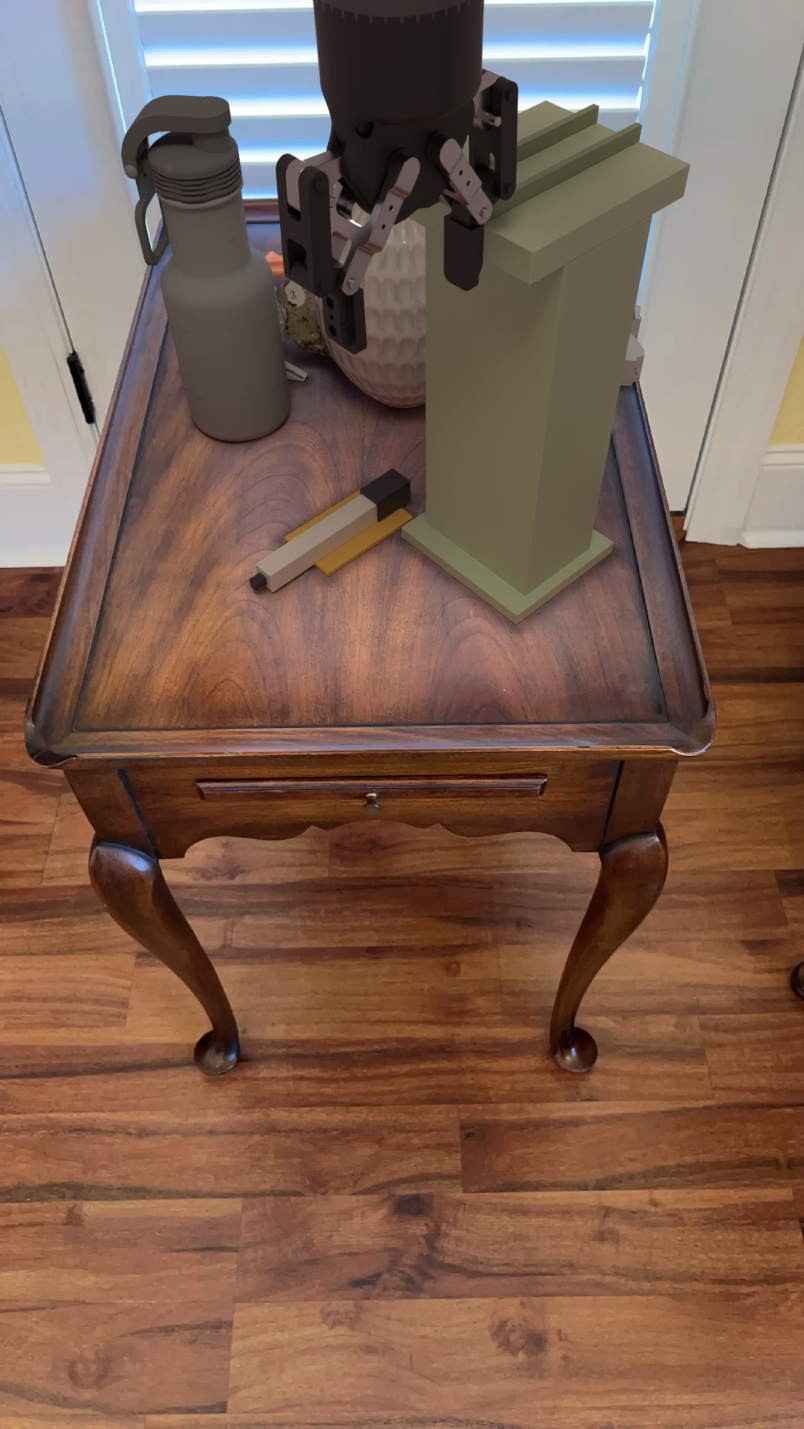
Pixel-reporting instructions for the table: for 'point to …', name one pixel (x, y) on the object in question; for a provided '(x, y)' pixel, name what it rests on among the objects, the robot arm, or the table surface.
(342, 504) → the mat
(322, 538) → the marker
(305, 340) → the rock
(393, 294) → the vase
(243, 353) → the water bottle
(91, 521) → the table surface
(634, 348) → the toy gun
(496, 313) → the green railed pedestal
